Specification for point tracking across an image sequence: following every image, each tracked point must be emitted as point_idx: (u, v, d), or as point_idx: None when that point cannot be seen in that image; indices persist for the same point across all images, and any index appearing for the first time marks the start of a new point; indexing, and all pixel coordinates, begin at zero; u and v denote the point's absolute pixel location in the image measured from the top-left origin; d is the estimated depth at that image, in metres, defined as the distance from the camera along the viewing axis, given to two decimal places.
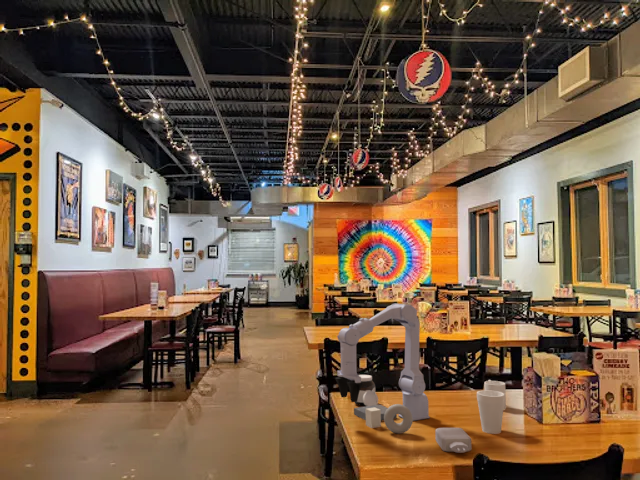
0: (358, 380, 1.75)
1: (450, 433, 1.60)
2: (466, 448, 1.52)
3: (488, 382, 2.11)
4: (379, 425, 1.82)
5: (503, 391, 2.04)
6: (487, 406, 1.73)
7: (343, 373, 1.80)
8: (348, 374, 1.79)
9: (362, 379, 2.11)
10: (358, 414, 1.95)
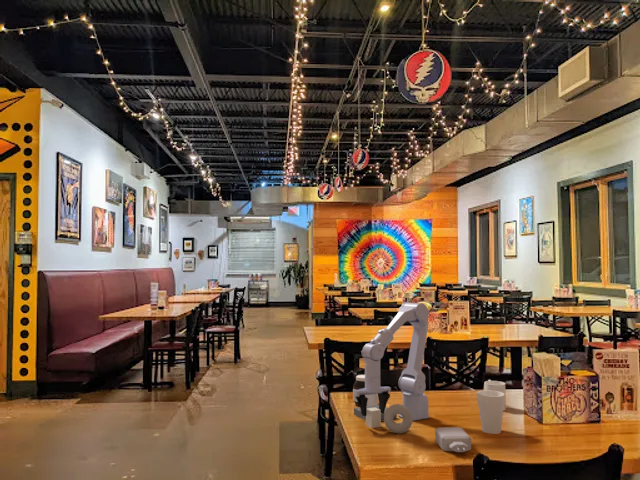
0: (355, 393, 1.81)
1: (450, 432, 1.60)
2: (466, 448, 1.53)
3: (488, 382, 2.11)
4: (379, 425, 1.82)
5: (503, 391, 2.04)
6: (487, 406, 1.73)
7: None
8: None
9: (362, 379, 2.11)
10: (358, 414, 1.95)
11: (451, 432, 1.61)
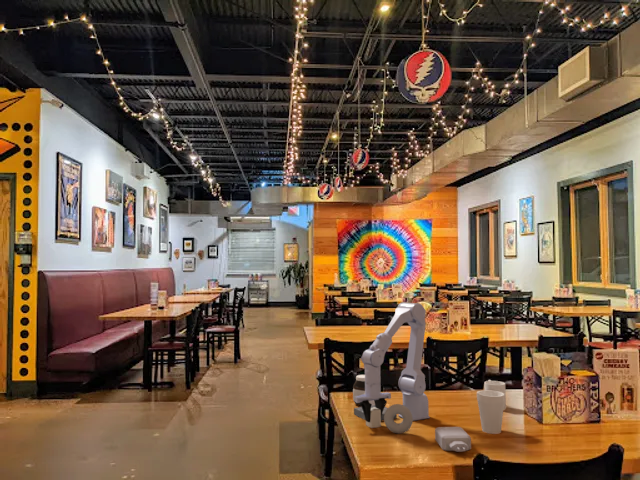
0: (355, 399, 1.80)
1: (450, 432, 1.61)
2: (466, 447, 1.53)
3: (488, 382, 2.11)
4: (379, 425, 1.82)
5: (503, 391, 2.04)
6: (487, 406, 1.73)
7: None
8: (364, 394, 1.84)
9: (362, 379, 2.11)
10: (358, 414, 1.95)
11: (451, 432, 1.61)
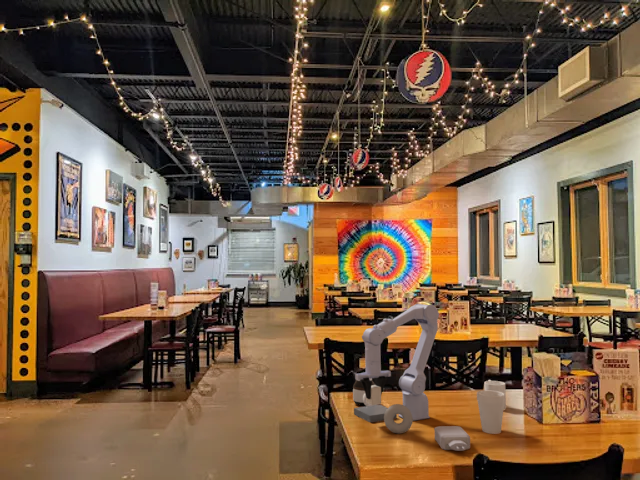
0: (356, 377, 1.84)
1: (449, 431, 1.61)
2: (465, 446, 1.54)
3: (488, 382, 2.11)
4: (379, 402, 1.85)
5: (503, 391, 2.04)
6: (487, 406, 1.73)
7: None
8: None
9: None
10: (358, 414, 1.95)
11: (450, 431, 1.62)
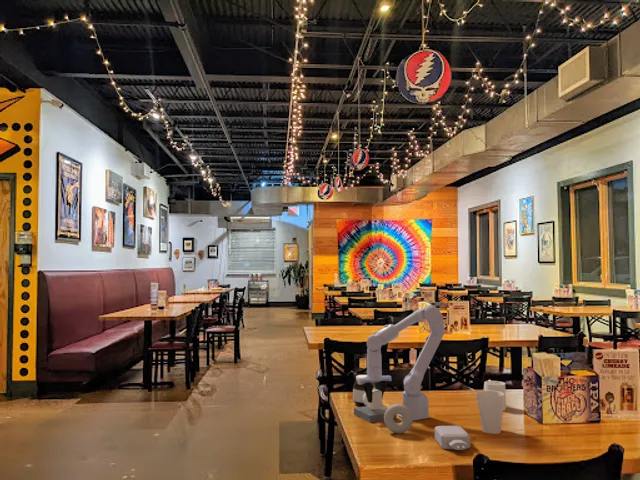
0: (358, 381, 1.93)
1: (449, 431, 1.62)
2: (465, 446, 1.55)
3: (488, 382, 2.11)
4: (380, 406, 1.94)
5: (503, 391, 2.04)
6: (487, 406, 1.73)
7: None
8: (367, 376, 1.96)
9: None
10: (358, 414, 1.95)
11: (450, 430, 1.62)
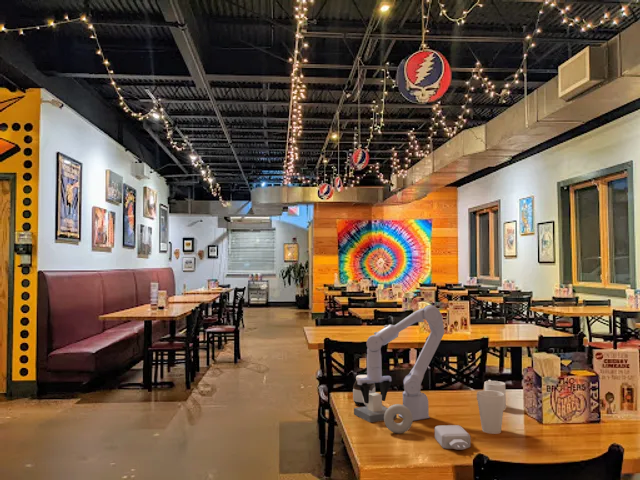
0: (358, 382, 1.93)
1: (449, 430, 1.62)
2: (466, 445, 1.55)
3: (488, 382, 2.11)
4: (380, 409, 1.94)
5: (503, 391, 2.04)
6: (487, 406, 1.73)
7: None
8: (367, 377, 1.96)
9: None
10: (358, 414, 1.95)
11: (451, 430, 1.63)
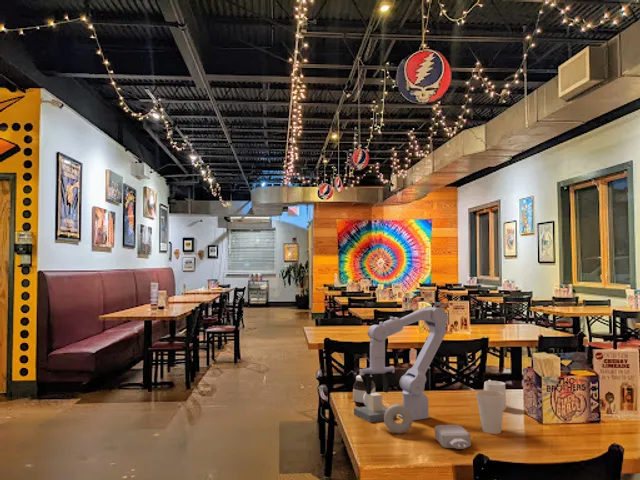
0: (360, 372, 1.87)
1: (450, 430, 1.63)
2: (466, 444, 1.56)
3: (488, 382, 2.11)
4: (380, 409, 1.94)
5: (503, 391, 2.04)
6: (487, 406, 1.73)
7: None
8: None
9: None
10: (358, 414, 1.95)
11: (451, 429, 1.63)
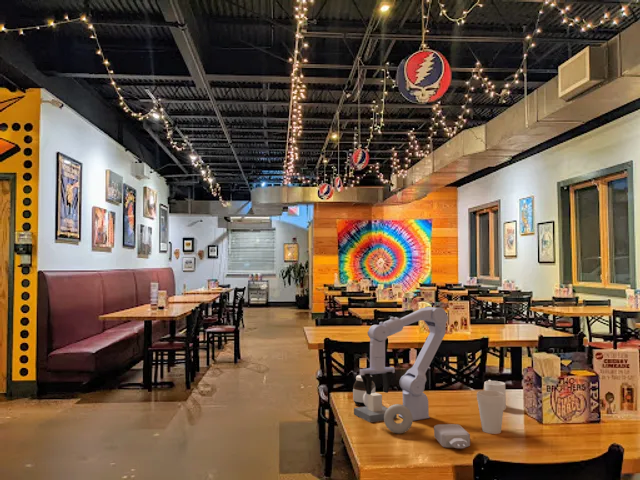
0: (360, 372, 1.87)
1: (449, 429, 1.64)
2: (466, 444, 1.56)
3: (488, 382, 2.11)
4: (380, 409, 1.94)
5: (503, 391, 2.04)
6: (487, 406, 1.73)
7: None
8: None
9: None
10: (358, 414, 1.95)
11: (450, 429, 1.64)
